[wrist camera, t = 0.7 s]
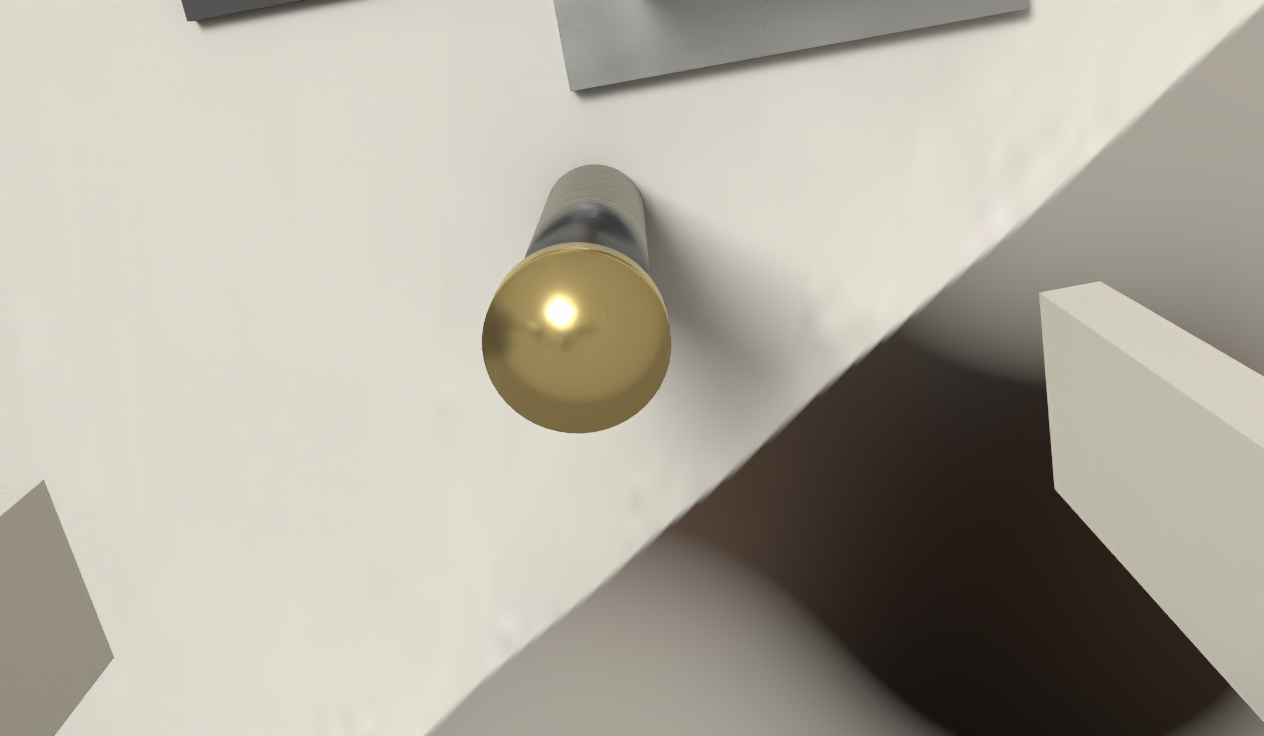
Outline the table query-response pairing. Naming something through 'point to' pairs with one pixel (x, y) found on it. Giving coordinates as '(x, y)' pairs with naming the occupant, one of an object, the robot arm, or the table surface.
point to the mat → (225, 7)
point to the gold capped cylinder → (581, 311)
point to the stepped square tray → (730, 30)
